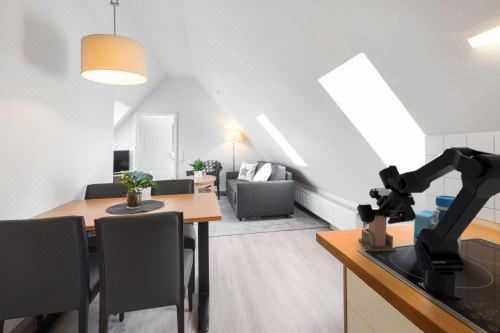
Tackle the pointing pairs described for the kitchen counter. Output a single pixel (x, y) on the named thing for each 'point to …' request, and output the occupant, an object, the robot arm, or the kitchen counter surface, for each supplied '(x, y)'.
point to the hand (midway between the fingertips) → (376, 223)
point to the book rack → (369, 241)
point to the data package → (422, 222)
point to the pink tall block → (378, 230)
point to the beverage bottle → (442, 211)
